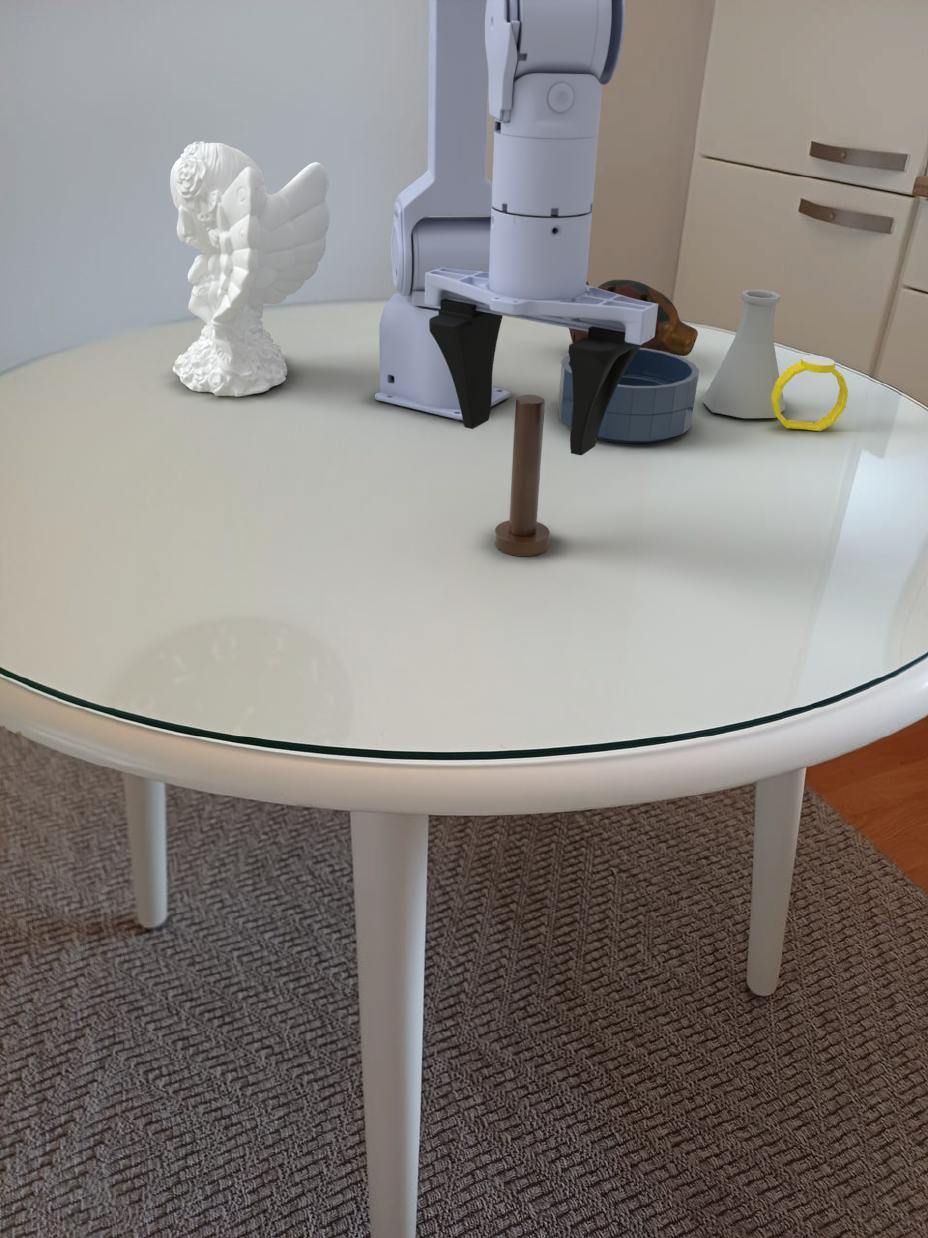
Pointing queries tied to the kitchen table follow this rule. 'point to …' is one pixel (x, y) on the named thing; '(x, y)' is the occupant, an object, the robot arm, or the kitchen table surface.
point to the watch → (818, 366)
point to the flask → (749, 363)
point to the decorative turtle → (668, 325)
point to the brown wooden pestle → (525, 483)
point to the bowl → (642, 398)
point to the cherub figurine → (242, 261)
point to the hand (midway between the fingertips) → (528, 436)
